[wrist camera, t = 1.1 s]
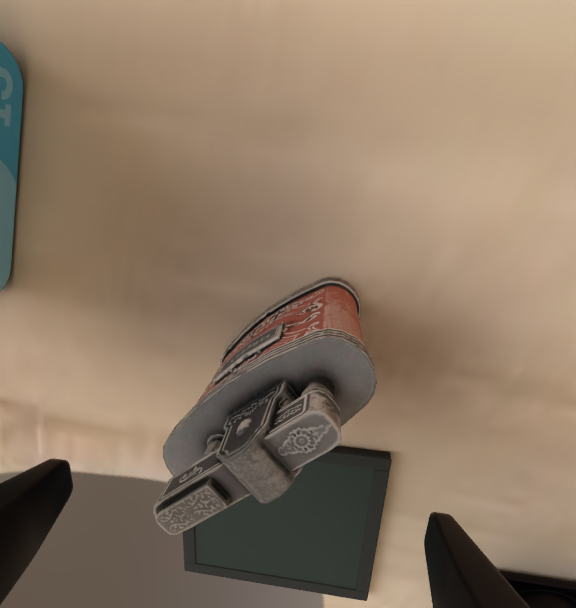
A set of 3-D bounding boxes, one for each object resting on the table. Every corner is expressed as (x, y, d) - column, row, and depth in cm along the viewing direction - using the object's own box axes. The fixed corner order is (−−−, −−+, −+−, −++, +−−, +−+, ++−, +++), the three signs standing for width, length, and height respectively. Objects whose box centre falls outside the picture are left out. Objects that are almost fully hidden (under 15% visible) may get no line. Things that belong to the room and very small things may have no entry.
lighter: (333, 260, 17) (331, 350, 8) (374, 314, 18) (420, 460, 8) (211, 350, 19) (94, 504, 10) (251, 395, 20) (176, 582, 11)
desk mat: (390, 452, 20) (391, 459, 19) (366, 591, 23) (367, 601, 23) (181, 425, 21) (177, 432, 21) (187, 562, 25) (184, 571, 24)
